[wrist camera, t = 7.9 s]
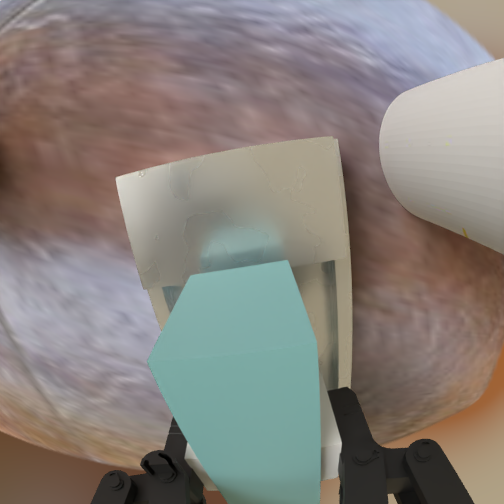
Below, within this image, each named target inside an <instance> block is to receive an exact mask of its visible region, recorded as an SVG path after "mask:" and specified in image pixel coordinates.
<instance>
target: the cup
mask: <svg viewBox="0 0 504 504" xmlns="http://www.w3.org/2000/svg"><path fill="white" fill-rule="evenodd" d="M379 153H380V161H381V166H382V169H383V173H384V176H385V179H386V181H387V183H388V186H389V188H390V189H391V191H392V193H393V194H394V196H395V197H396V199H397V200H398V201H399V203H400V204H401V205H402V206H403V207H404V208H405V209H406V210H408V211H409V212H410V213H412V214H413V215H415V216H417V217H419V218H421V219H424V220H426V221H429V222H431V223H434V224H436V225H439V226H441V227H443V228H446V229H448V230H451V231H453V232H455V233H458V234H460V235H462V236H464V237H467V238H469V239H471V240H473V241H476V242H478V243H480V244H482V245H484V246H486V247H489V248H491V249H493V250H495V251H497V252H499V253H501V254H503V255H504V58H502V59H498V60H495V61H491V62H488V63H485V64H481V65H478V66H475V67H472V68H468V69H465V70H462V71H459V72H456V73H453V74H450V75H447V76H445V77H442V78H439V79H436V80H434V81H431V82H428V83H425V84H423V85H420V86H418V87H415V88H412V89H410V90H407V91H405V92H403V93H402V94H400V95H399V96H398V97H397V98H396V99H395V100H394V101H393V102H392V103H391V104H390V106H389V107H388V109H387V111H386V113H385V115H384V118H383V121H382V124H381V129H380V136H379Z"/></svg>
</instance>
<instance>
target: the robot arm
mask: <svg viewBox="0 0 504 504" xmlns="http://www.w3.org/2000/svg"><path fill="white" fill-rule="evenodd" d="M318 367H319V389H320V422H321V481H323V480H328V479H333V478H337V477H338V474H339V478H340V489H339V494H340V504H388V496H387V495H388V494H392V493H393V494H394V497H395V499H396V501H397V503H398V504H474V503H473V500H472V499H471V497H470V495H469V493H468V492H467V490H466V489H465V487H464V485H463V483H462V482H461V480H460V478H459V477H458V475H457V473H456V472H455V470H454V468H453V467H452V465H451V463H450V462H449V460H448V458H447V457H446V455H445V454H444V452H443V451H442V449H441V447H440V446H439V445H438V444H437V443H436V442H435V441H433V440H431V439H420V440H417V441H415V442H413V443H412V444H410V446H409V447H408V448H398V449H397V448H396V449H390V448H385V447H382V446H380V445H378V444H377V443H376V442H375V441H374V439H373V438H372V435H371V433H370V430H369V427H368V425H367V422H366V420H365V417H364V414H363V412H362V409H361V407H360V404H359V402H358V399H357V397H356V394H355V393H354V392H353V391H352V390H351V389H350V388H348V387H342V388H338V389H333V390H329V391H327V390H326V386H325V383H324V380H323V376H322V373H321V370H320V366H319V363H318ZM140 465H141V467H142V468H143V469H144V470H145V471H146V472H147V473H146V474H140V475H134V476H128V475H127V474H126V473H125V472H123V471H119V470H114V471H110V472H108V473H107V474H105V476H104V477H103V478H102V480H101V482H100V484H99V486H98V488H97V491H96V493H95V495H94V497H93V500H92V502H91V504H206V499H205V497H204V495H203V486H204V487H205V488H206V489H207V490H212V491H213V490H214V491H216V490H217V491H219V490H218V489H217V487H216V486H215V484H214V483H213V481H212V480H211V478H210V477H209V475H208V474H207V472H206V471H205V469H204V468H203V466H202V464H201V463H200V461H199V460H198V458H197V457H196V455H195V453H194V452H193V450H192V448H191V447H190V445H189V443H188V441H187V440H186V438H185V436H184V435H183V433H182V431H181V429H180V427H179V426H178V424H177V422H176V420H175V418H174V416H173V419H172V422H171V427H170V430H169V435H168V437H167V441H166V445H165V449H164V451H163V450H157V451H152V452H150V453H148V454H147V455H145V457H144V458H143V459H142V461H141V464H140Z"/></svg>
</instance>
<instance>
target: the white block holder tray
mask: <svg viewBox="0 0 504 504" xmlns="http://www.w3.org/2000/svg"><path fill="white" fill-rule="evenodd" d="M116 183H117V188H118V193H119V198H120V203H121V207H122V212H123V216H124V220H125V224H126V228H127V232H128V236H129V240H130V244H131V248H132V252H133V255H134V259H135V262H136V266H137V269H138V273H139V276H140V279H141V283H142V286H143V289H144V290H145V289H147V290H148V293H149V296H150V300H151V303H152V306H153V309H154V312H155V315H156V318H157V320H158V323H159V326H160V329H161V332H162V330H163V328H164V326H165V324H166V322H167V320H168V318H169V316H170V314H171V312H172V310H173V308H174V306H175V304H176V302H177V300H178V298H179V296H180V294H181V292H182V290H183V289H184V287H185V285H186V283H187V281H188V279H189V277H190V275H195V274H202V273H208V272H215V271H221V270H228V269H234V268H240V267H247V266H253V265H259V264H265V263H272V262H278V261H284V260H288V262H289V264H290V267H291V270H292V273H293V275H294V278H295V281H296V284H297V286H298V289H299V292H300V295H301V298H302V300H303V303H304V306H305V309H306V312H307V315H308V318H309V320H310V323H311V326H312V329H313V332H314V335H315V338H316V341H317V350H318V363H319V366H320V370H321V373H322V376H323V380H324V383H325V386H326V390H327V391H329V390H333V389H338V388H342V387H348V388H350V389H351V370H352V278H351V257H350V242H349V229H348V217H347V207H346V197H345V189H344V180H343V173H342V165H341V158H340V151H339V145H338V139H333V136H330V137H319V138H309V139H300V140H292V141H284V142H277V143H270V144H263V145H257V146H251V147H245V148H239V149H233V150H228V151H222V152H217V153H212V154H207V155H202V156H198V157H193V158H189V159H184V160H180V161H176V162H171V163H167V164H163V165H159V166H155V167H151V168H148V169H144V170H140V171H137V172H133V173H129V174H126V175H122V176H119V177H116Z"/></svg>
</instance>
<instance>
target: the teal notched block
mask: <svg viewBox="0 0 504 504" xmlns="http://www.w3.org/2000/svg"><path fill="white" fill-rule="evenodd" d="M147 363H148V365H149V367H150V370H151V372H152V374H153V376H154V378H155V380H156V383H157V385H158V387H159V389H160V391H161V393H162V395H163V397H164V399H165V401H166V403H167V405H168V407H169V409H170V411H171V413H172V415H173V416H174V418H175V420H176V422H177V424H178V426H179V427H180V429H181V431H182V433H183V435H184V436H185V438H186V440H187V441H188V443H189V445H190V447H191V448H192V450H193V452H194V453H195V455H196V457H197V458H198V460H199V461H200V463H201V464H202V466H203V468H204V469H205V471H206V472H207V474H208V475H209V477H210V478H211V480H212V481H213V483H214V484H215V486H216V487H217V489H218V490H219V491H220V493H221V494H222V495H223V497H224V498H225V499H226V501H227V502H228V504H320V481H321V422H320V389H319V367H318V350H317V341H316V338H315V335H314V332H313V329H312V326H311V323H310V320H309V318H308V315H307V312H306V309H305V306H304V303H303V300H302V298H301V295H300V292H299V289H298V286H297V284H296V281H295V278H294V275H293V273H292V270H291V267H290V264H289V262H288V260H284V261H278V262H272V263H265V264H259V265H253V266H247V267H240V268H234V269H228V270H221V271H215V272H208V273H202V274H195V275H190V277H189V279H188V281H187V283H186V285H185V287H184V289H183V290H182V292H181V294H180V296H179V298H178V300H177V302H176V304H175V306H174V308H173V310H172V312H171V314H170V316H169V318H168V320H167V322H166V324H165V326H164V328H163V330H162V332H161V334H160V336H159V338H158V340H157V342H156V344H155V346H154V348H153V350H152V352H151V354H150V356H149V358H148V360H147Z"/></svg>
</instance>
